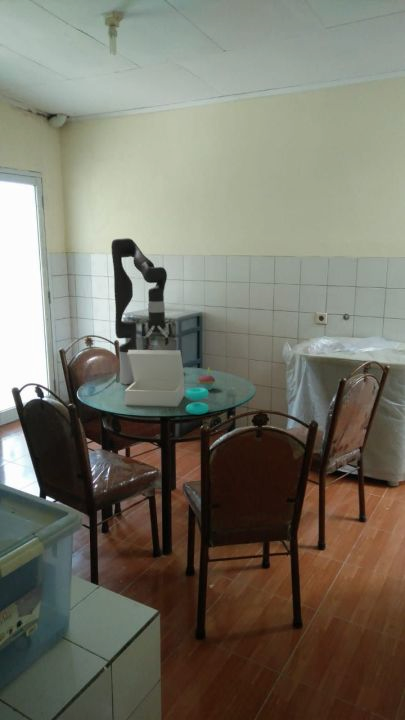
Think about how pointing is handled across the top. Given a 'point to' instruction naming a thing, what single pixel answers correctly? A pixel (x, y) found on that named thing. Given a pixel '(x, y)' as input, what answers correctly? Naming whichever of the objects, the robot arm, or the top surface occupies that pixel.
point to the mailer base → (154, 394)
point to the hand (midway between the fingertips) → (157, 345)
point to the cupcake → (206, 381)
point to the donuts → (197, 407)
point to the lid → (156, 365)
